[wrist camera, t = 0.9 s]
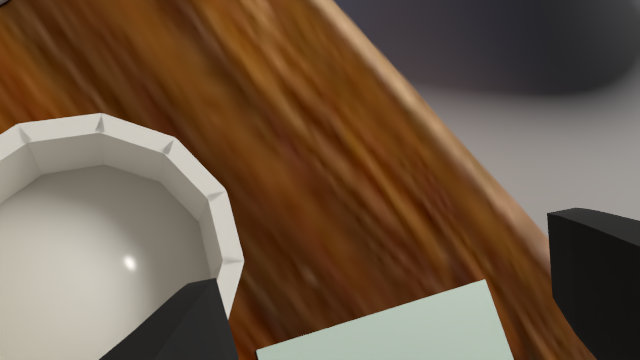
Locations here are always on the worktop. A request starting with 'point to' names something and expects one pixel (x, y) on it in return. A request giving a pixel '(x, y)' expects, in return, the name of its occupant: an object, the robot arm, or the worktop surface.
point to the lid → (410, 332)
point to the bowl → (102, 234)
